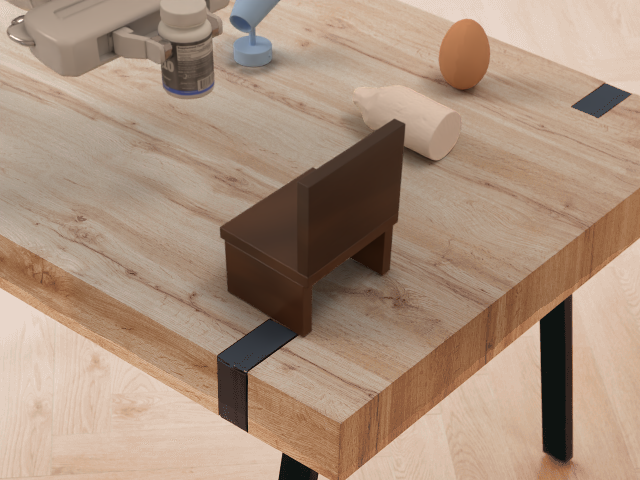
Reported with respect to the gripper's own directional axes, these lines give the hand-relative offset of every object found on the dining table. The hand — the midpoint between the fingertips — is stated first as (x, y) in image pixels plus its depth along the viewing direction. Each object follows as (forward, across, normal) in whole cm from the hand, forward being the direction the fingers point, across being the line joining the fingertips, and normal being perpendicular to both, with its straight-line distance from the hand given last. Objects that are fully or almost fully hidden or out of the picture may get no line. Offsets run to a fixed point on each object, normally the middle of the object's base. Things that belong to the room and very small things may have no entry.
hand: (192, 41), depth 95 cm
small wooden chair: (+16, -3, +17) cm, 23 cm away
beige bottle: (+8, +21, +17) cm, 28 cm away
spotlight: (-15, +24, +17) cm, 33 cm away
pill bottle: (-1, 0, +5) cm, 5 cm away
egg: (+7, +34, +17) cm, 39 cm away
